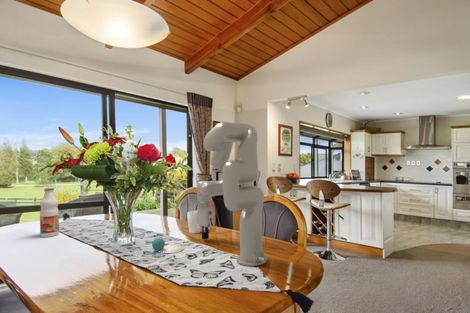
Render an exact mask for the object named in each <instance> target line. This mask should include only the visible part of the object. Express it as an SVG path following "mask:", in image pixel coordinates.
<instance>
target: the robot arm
mask: <svg viewBox="0 0 470 313" xmlns="http://www.w3.org/2000/svg"><path fill="white" fill-rule="evenodd" d="M234 143H239V144H238V146H237V150H236V155H237V156H236V157H237V158H236V160H230V161H229V159H230V157H231V154H232V149H233V147H234ZM257 145H258V132H257V130H256V127H254V126H253V125H251V124H248V123H244V122H243V123H242V122H227V121H222V122H219V123H217V124H216V125H215V126H214V127H213V128H211V129H210V130H209V131H208V132H207V134H206V135H205V137H204V138H203V147H204V150H205V151H207V152H211V153H212V154H211V156H210V161H209V162H210V166H212V167H213V168H215V169H217V170H219V171H221V178H220V180H212V181H209V180H200V181H198V182H197V183H196V190H197V191H196V192H197V193H196V195H197V196H196V197H197V198H196V199H197V203H196V204H197V210H196V211H197V223H198V224H199V226H200V227H201V239H202V240H204V241H205V240H209V234H210V233H209V232H210V230H212V228H213V226H214V225H215V215H214V209H213V204H212V203H213V201H212V200H213V198H212V197H215V196H216V197H217V196H223V202H224V206H225V208H226V210H228V211H231V212H238V211H241V212H240V216H239V222H238V223H239V255H238V256H237V257H236V262H237V263H238V264H240V265H241V266H246V267H247V266H249V267H253V266H255V267H256V266H261V265H264V264H265V263H267V261H268V260H269V256H268V255H265V251H264V250H263V206H264V201H265V194H264V192H263V190H262V189H261V188H260V187H259V186H256V185H244V186H240V184H248V183H253V182H255V181H256V180H258V178H259V164H258V151H257V149H258V148H257Z"/></svg>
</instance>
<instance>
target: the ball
mask: <svg viewBox="0 0 470 313" xmlns="http://www.w3.org/2000/svg"><path fill="white" fill-rule="evenodd" d="M164 246H166V242H165V240H164V238H162V237H157V238H154V239H153V240H152V242H151V247H152V249H153V250H154V251H156V252H157V251H160V250H162V249H163V248H164Z"/></svg>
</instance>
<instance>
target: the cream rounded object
mask: <svg viewBox="0 0 470 313" xmlns="http://www.w3.org/2000/svg"><path fill="white" fill-rule="evenodd" d="M184 250H185V246H184V245H180V244H169V245H165V246H164V248H163V249H162V250H160V252H161V253H160V254H163V253H164V252H165V253H171V254H177V253H180V252H183V251H184ZM163 251H164V252H163ZM162 252H163V253H162ZM157 253H159V251H158V252H157Z"/></svg>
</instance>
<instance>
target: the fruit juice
mask: <svg viewBox="0 0 470 313" xmlns="http://www.w3.org/2000/svg"><path fill="white" fill-rule="evenodd" d="M43 189H44V190H43V191H44V195H43V197H42V199H41V200H40V202H39V205H40V211H39V224H40V225H39V228H40V229H39V233H40V235H39V236H40V237H41V238H51V237H56V236H58V235H59V234H60V213H59V212H60V210H59V208H58V207H59V200H58V199H57V198H56V196H55V193H54V191H55V188H54V187H46V188H45V187H44V188H43Z"/></svg>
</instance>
